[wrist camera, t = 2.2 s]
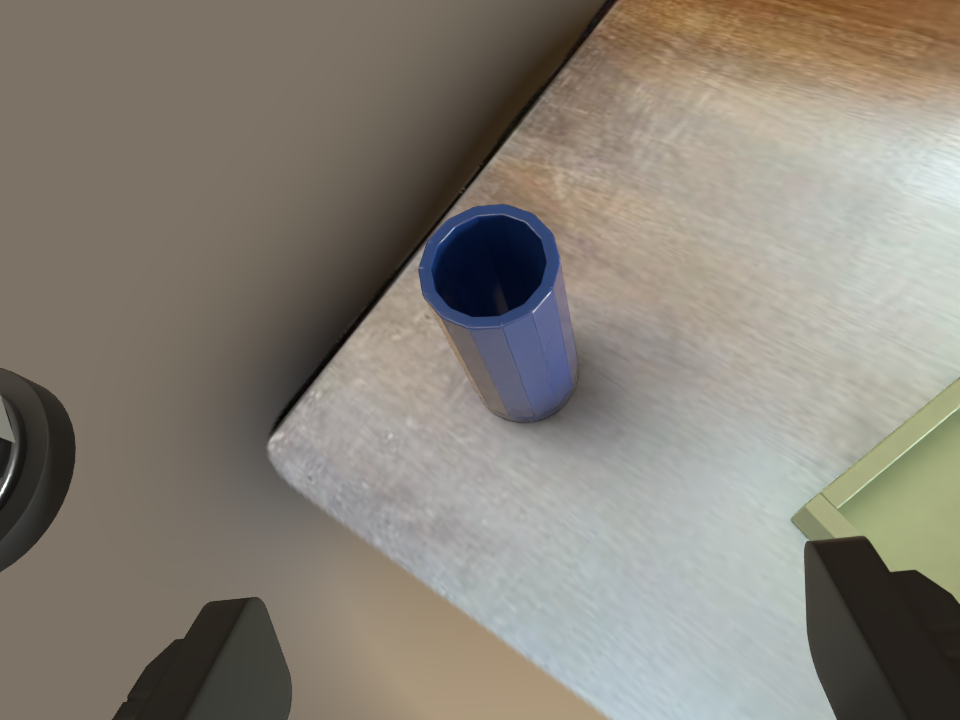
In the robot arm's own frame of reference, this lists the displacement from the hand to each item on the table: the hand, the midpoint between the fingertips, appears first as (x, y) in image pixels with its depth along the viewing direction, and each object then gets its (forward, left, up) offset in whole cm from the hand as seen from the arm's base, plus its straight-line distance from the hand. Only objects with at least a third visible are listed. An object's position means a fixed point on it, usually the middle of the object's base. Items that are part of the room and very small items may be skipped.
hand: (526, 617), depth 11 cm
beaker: (+5, +11, -20) cm, 23 cm away
